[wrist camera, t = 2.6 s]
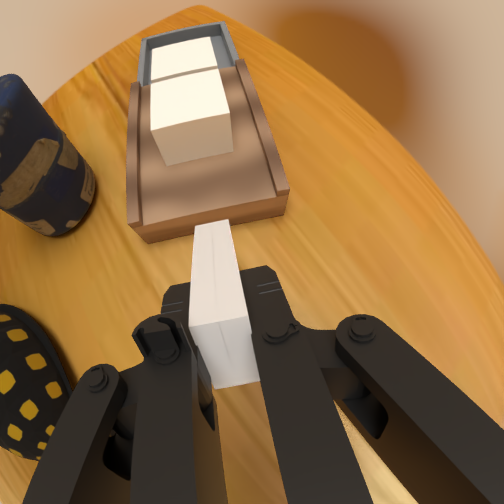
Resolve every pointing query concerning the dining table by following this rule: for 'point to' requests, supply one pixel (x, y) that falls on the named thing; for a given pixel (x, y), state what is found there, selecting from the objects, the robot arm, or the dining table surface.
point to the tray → (215, 31)
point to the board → (204, 169)
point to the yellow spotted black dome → (28, 385)
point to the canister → (39, 165)
